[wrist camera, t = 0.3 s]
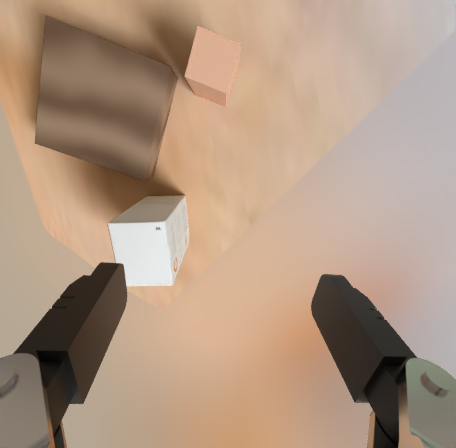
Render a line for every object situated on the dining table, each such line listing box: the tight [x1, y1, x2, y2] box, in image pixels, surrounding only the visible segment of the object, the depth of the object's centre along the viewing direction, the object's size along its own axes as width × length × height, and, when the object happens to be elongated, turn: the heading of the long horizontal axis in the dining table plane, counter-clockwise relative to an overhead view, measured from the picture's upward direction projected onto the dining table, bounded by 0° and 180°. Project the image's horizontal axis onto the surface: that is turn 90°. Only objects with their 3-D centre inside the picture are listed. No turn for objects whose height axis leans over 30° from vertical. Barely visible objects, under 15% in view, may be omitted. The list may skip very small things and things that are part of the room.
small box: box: [108, 195, 190, 286], centre depth 32 cm, size 8×6×13 cm
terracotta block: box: [185, 26, 242, 107], centre depth 27 cm, size 4×4×9 cm
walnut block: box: [35, 16, 178, 180], centre depth 30 cm, size 14×14×5 cm
